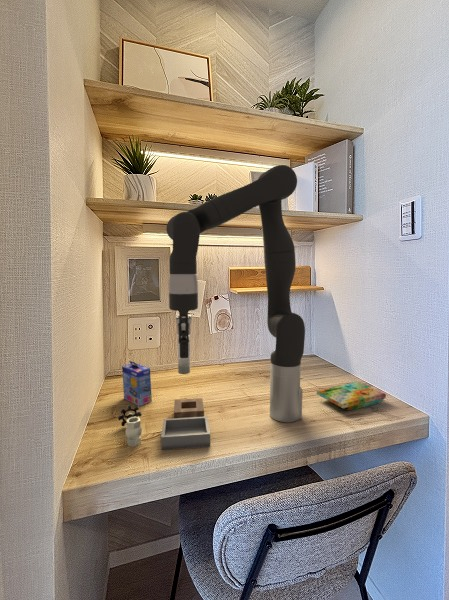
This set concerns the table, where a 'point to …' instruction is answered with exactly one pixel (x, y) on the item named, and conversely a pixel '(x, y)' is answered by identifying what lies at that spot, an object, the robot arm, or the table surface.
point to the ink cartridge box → (137, 383)
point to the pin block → (188, 408)
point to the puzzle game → (352, 396)
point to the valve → (132, 425)
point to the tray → (185, 433)
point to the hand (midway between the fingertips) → (184, 355)
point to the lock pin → (184, 360)
